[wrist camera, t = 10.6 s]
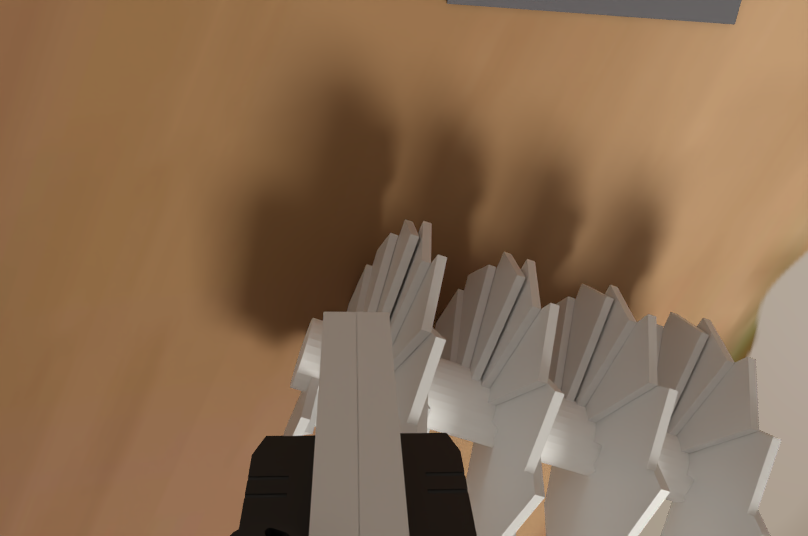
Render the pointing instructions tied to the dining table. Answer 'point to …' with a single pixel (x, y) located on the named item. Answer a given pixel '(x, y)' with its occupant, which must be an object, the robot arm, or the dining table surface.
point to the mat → (628, 8)
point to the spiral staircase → (563, 399)
